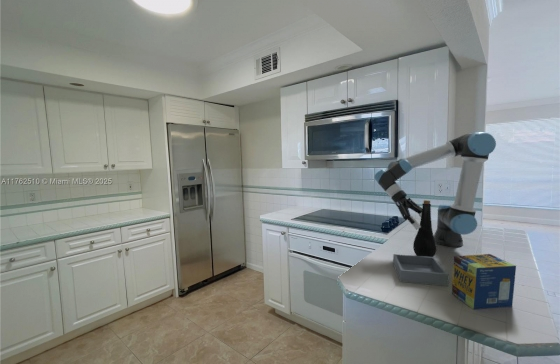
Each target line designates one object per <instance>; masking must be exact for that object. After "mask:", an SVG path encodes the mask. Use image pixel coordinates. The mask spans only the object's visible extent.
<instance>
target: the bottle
mask: <svg viewBox="0 0 560 364" xmlns="http://www.w3.org/2000/svg"><path fill="white" fill-rule="evenodd" d="M421 205H422V207H421V208H422V215H421V217H420V222H419V225H420V226H421V227H420V228H419V229H417V230H418V231H417V233H416V234H415V237H414V239H413V243H412V245H413V246H412V247H413V248H412V249H413V251H414V254H415V256H426V257H435V255H436V252H437V243H436V242H435V238H434V232H433V226H432V225H433V224H432V222H431V221H432V214H431V213H432V211H431V210H432V209H431V207H432V204H431V201H430V200H423V202H422V204H421Z"/></svg>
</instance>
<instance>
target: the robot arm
mask: <svg viewBox="0 0 560 364" xmlns="http://www.w3.org/2000/svg"><path fill="white" fill-rule="evenodd" d="M496 146H497V142H496V139H495V137H494V136H493V134H490V133H489V132H483V131H476V132H471V133H466V134H461V135H460V136H458V137H455V138H453V139H451V140H448V141H446V142H445V144H442V145H439V146H436V147H433V148H431V149H427V150H424V151H422V152H419V153H416V154H414V155H411V156H407V157H405V158H401V159H398V160H395V161H391V162H390V163H388V165H387V170H385V169H380V170H379V171H377V172H376V173H375V174H374V176H373V178H374V180H375V181H376V182H377V183H378V185H379V186H380V187H381V188H382V189H383V190H384V192H385V193H386V195H387V196H389V197H390V198H391V200H392V201H393V202H394V203H395V205H396V207H397V209H398V211H399V213H400V215H401V216H402V218H403V219H404V220H405V221H408V222H409V224H411V225H412V227H414V229H415V230H416V231H417V230H418V229H419V228H420V227H421V226H420V223H418V221H417V220H416V218H414V216H412V215H411V213H410V210H409V209H411V211H414V212H415V213H416V214H418V216H419V218H421V215H422V207H421V206H420V205H419V204H418V203H416V202H415V201H414V200H412V199H411V198H410V197H408V198H407V193H406V192H405V191H404V190H403V188H402V187H401V186H400V185H399V184H398V183H397V182H396V181H398V180H399V179H401V178H402V177H403V176H405V175H406V174H408V173H410V172H411V171H412V170H414V169H416V168H420V167H422V166H424V165H428V164H431V163H434V162H438V161H439V160H444V159H446V158H449V157H452V158H454V157H459V156H460V158H461V160H462V165H461V170H460V174H459V175H460V176H459V180H458V183H457V184H458V185H457V189H456V194H455V198H454V202H453V204H439V205H437V206H438V207H437V219H436V220H437V222H436V224H437V226H436V230H435V232H434V233H433V235H434V238H435V242H436V244H437V245H441V246H447V247H453V248H454V247H462V246H464V240H463V237H462V235H463V236H465V235H469V234H471V233H473V232H475V231H476V230H477V227H478V220H477V219H476V212H477V211H476V209H475V208H474V205H475V201H476V196H477V191H478V189H479V187H478V186H479V183H480V178H481V176H482V175H481V174H482V170H483V166H484V165H483V164H484V163H485V162H486V161H488V160H489V155H490V154H491V153H493V152H494V151H495V149H496ZM431 223H432V220H431Z"/></svg>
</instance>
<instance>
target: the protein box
mask: <svg viewBox="0 0 560 364" xmlns="http://www.w3.org/2000/svg"><path fill="white" fill-rule="evenodd" d="M516 270H517V265H516V264H513V263H511V262H509V261H506V260H505V259H501V258H499V257H497V256H495V255H493V254H490V253H488V254H487V253H484V254H468V255H467V254H466V255H454V256H453V270H452V271H453V272H452V284H451V285H452V286H451V294H452V295H453V296H454V297H456V298H457V299H458V300H460V301H461V302H463V303H464V304H466V305H467V307H470V308H471V309H472V310H481V309H482V310H483V309H484V310H485V309H495V308H498V309H499V308H508V307H509V308H511V307H513V303H514V302H513V301H514V290H515V281H516V272H517V271H516Z"/></svg>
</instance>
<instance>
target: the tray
mask: <svg viewBox="0 0 560 364" xmlns="http://www.w3.org/2000/svg"><path fill="white" fill-rule="evenodd" d="M392 255H393V258H392V264H393V267H394V268H395V269H396V270H395V271H396V274H397V277H398V279H399V282H404V283H411V284H423V285H433V286H434V285H435V286H443V287H445V286H446V287H448V286H449V273H448V271H446V270H445V269H444V267H443V266H442V265H441V264H440V262H439V261H438V260H437V259H436V258H435V256H433V257H426V256H416V255H412V254H411V255H409V254H397V253H394V254H392Z"/></svg>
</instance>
